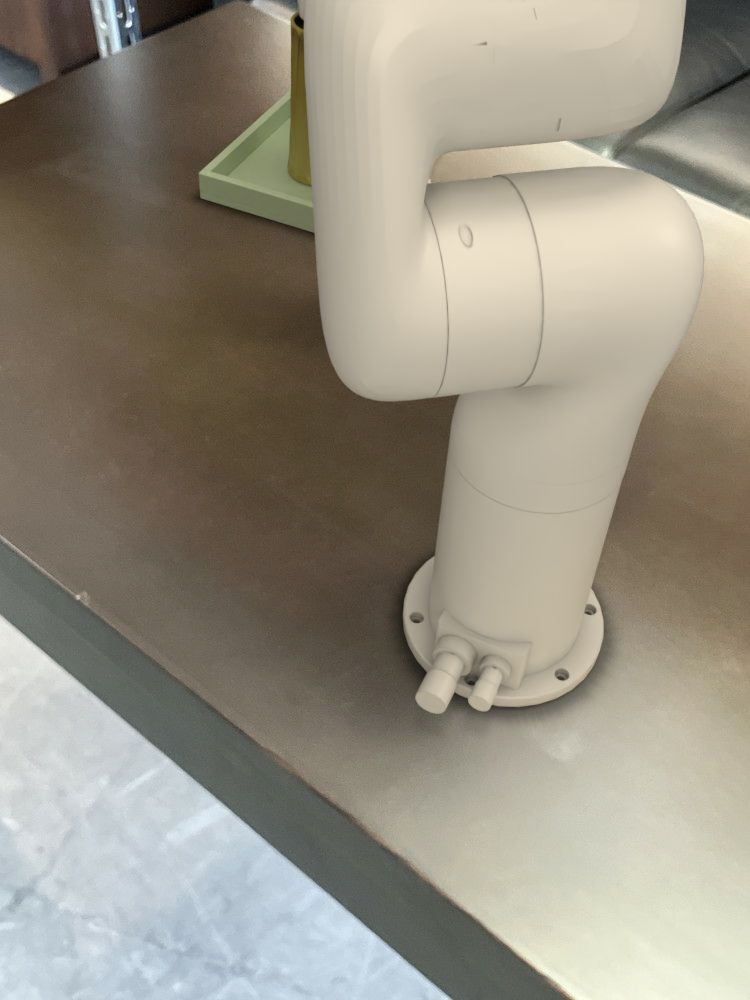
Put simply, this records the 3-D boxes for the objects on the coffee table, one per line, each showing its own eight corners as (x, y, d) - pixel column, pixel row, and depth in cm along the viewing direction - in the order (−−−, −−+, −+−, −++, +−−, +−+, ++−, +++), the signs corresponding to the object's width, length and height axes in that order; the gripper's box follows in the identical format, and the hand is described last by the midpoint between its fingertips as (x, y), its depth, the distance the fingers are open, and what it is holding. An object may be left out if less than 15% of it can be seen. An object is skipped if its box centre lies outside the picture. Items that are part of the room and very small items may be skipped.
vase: (364, 166, 109) (370, 16, 98) (328, 195, 105) (331, 43, 95) (311, 146, 111) (311, -2, 100) (274, 174, 107) (270, 22, 97)
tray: (354, 245, 101) (355, 219, 99) (200, 198, 105) (198, 173, 103) (432, 153, 112) (434, 129, 110) (289, 114, 116) (289, 89, 114)
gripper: (382, -101, 83) (372, 120, 95) (362, -179, 94) (355, 27, 107) (277, -102, 82) (281, 121, 95) (270, -181, 94) (275, 26, 106)
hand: (321, 70), depth 101 cm, fingers open, 9 cm apart
